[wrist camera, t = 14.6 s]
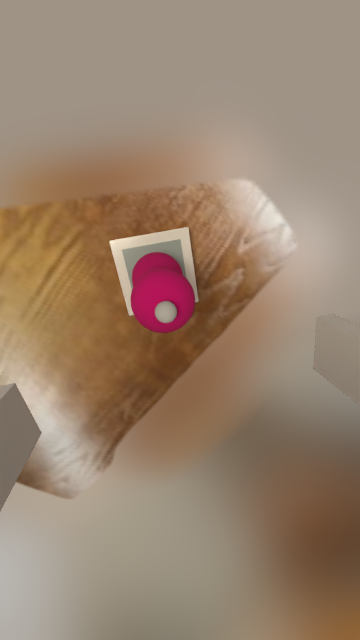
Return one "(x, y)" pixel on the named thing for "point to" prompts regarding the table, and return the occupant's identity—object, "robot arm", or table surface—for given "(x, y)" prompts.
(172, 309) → the pepper mill
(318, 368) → the robot arm
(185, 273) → the base
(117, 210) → the table surface
